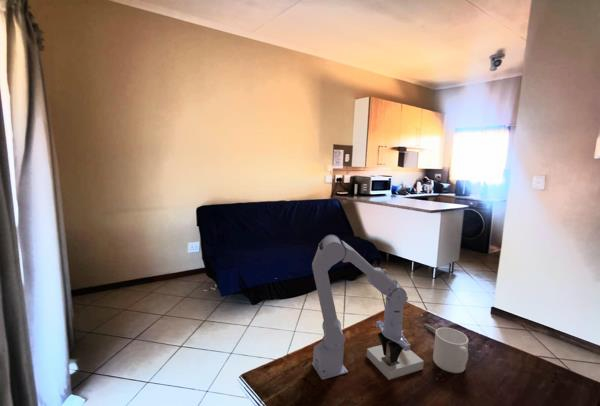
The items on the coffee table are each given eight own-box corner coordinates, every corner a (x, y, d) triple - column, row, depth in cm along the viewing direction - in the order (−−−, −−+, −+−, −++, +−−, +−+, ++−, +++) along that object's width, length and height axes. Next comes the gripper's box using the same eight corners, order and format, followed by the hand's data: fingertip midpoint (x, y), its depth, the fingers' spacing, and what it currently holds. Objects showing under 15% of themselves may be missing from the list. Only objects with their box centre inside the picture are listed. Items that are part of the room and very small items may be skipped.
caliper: (458, 356, 106) (460, 339, 105) (456, 356, 106) (458, 340, 105) (425, 325, 126) (426, 311, 125) (422, 325, 126) (424, 311, 125)
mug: (427, 354, 106) (429, 328, 105) (452, 353, 107) (455, 326, 106) (449, 380, 94) (452, 350, 92) (477, 378, 95) (481, 348, 94)
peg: (396, 365, 97) (398, 345, 96) (389, 367, 96) (390, 347, 95) (390, 359, 100) (392, 340, 99) (383, 361, 99) (384, 342, 98)
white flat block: (388, 379, 93) (389, 367, 93) (366, 356, 104) (367, 345, 104) (422, 369, 98) (423, 357, 98) (398, 347, 109) (399, 337, 109)
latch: (409, 342, 99) (407, 338, 100) (395, 345, 105) (394, 341, 106) (413, 340, 100) (412, 337, 100) (400, 344, 106) (398, 340, 107)
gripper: (419, 329, 91) (415, 369, 92) (388, 307, 104) (386, 342, 106) (401, 333, 88) (397, 375, 90) (371, 310, 101) (369, 347, 103)
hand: (390, 358), depth 98 cm, fingers closed on peg, 3 cm apart
